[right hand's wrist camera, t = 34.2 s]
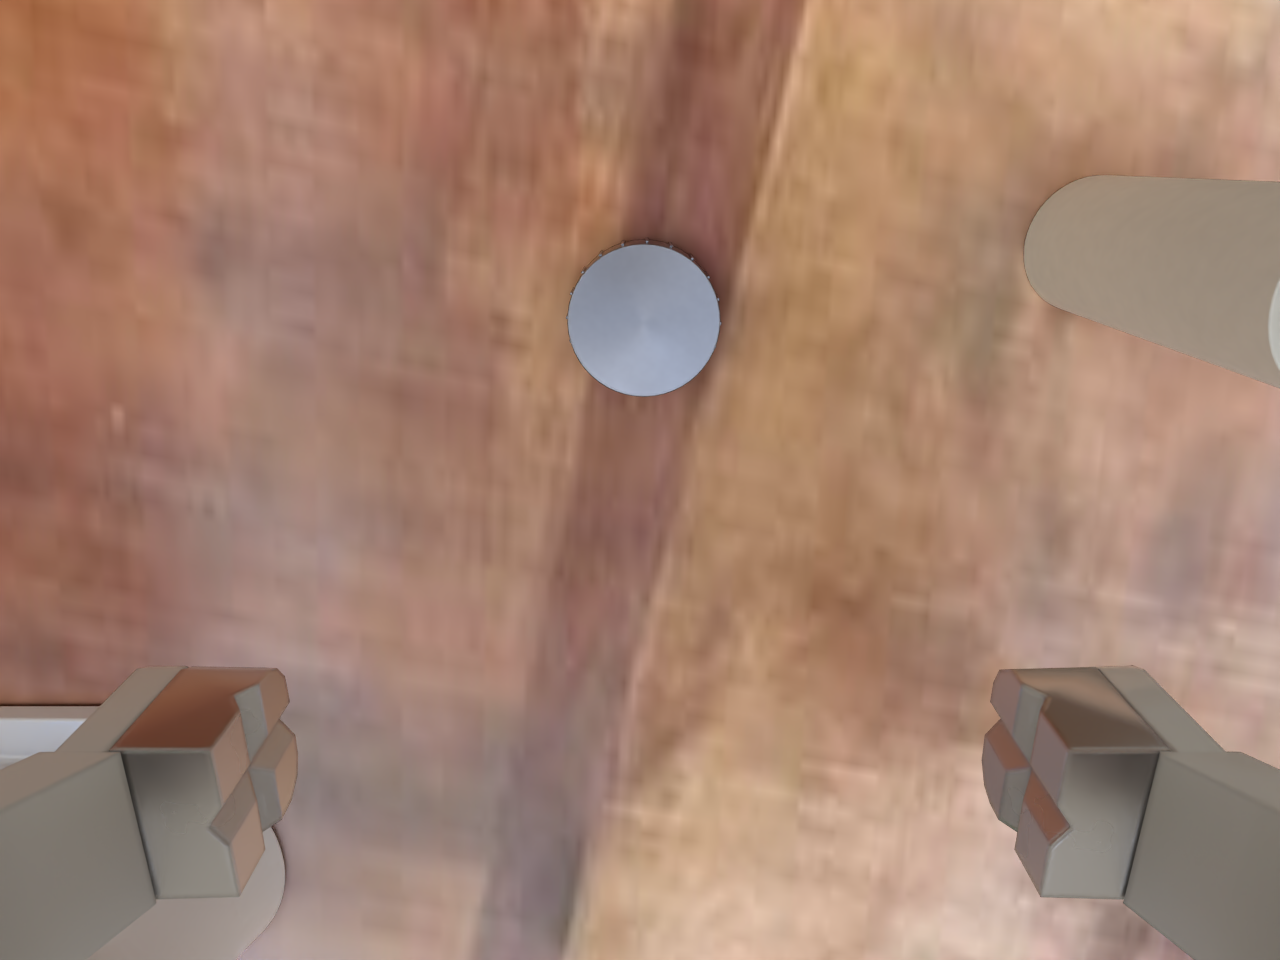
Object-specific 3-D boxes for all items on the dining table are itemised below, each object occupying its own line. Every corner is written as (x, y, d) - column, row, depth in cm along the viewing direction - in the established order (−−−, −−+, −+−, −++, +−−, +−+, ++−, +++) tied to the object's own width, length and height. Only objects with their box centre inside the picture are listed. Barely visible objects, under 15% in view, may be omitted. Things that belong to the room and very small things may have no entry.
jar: (1010, 203, 35) (1307, 241, 19) (1146, 154, 34) (1565, 152, 19) (1037, 330, 37) (1330, 457, 21) (1167, 284, 36) (1567, 382, 20)
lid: (745, 285, 36) (751, 292, 34) (670, 411, 38) (672, 424, 36) (614, 209, 35) (612, 212, 33) (544, 342, 37) (539, 352, 35)
